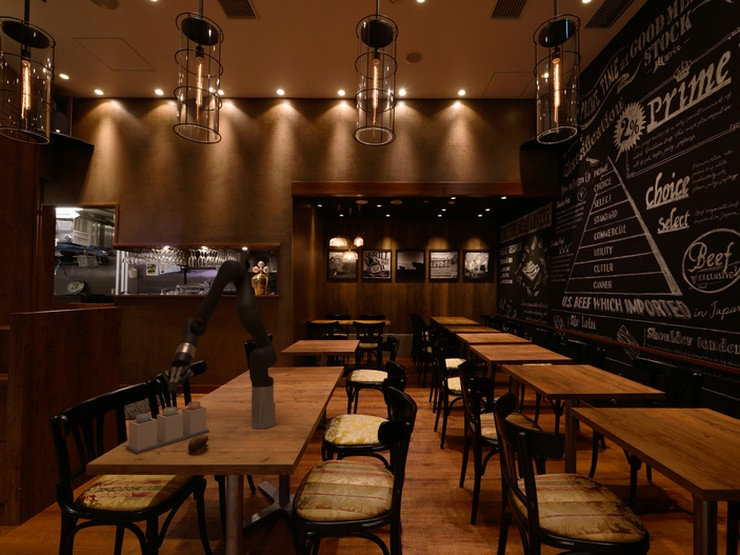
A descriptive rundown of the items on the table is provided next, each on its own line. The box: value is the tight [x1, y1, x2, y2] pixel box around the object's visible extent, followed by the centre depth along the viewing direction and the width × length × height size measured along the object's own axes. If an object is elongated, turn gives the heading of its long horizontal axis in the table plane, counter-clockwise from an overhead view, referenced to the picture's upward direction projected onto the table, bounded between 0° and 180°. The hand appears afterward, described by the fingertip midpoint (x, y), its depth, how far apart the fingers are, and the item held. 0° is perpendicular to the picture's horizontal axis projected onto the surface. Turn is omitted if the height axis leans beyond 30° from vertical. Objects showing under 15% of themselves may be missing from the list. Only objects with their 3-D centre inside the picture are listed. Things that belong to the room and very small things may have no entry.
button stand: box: [125, 405, 210, 455], centre depth 154 cm, size 9×28×10 cm, turn 144°
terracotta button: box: [187, 400, 201, 411], centre depth 163 cm, size 5×5×3 cm
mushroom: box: [187, 434, 210, 455], centre depth 143 cm, size 8×8×6 cm
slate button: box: [135, 412, 151, 424], centre depth 146 cm, size 5×5×3 cm
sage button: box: [162, 406, 178, 417], centre depth 154 cm, size 5×5×3 cm
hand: (170, 392), depth 156 cm, fingers closed
